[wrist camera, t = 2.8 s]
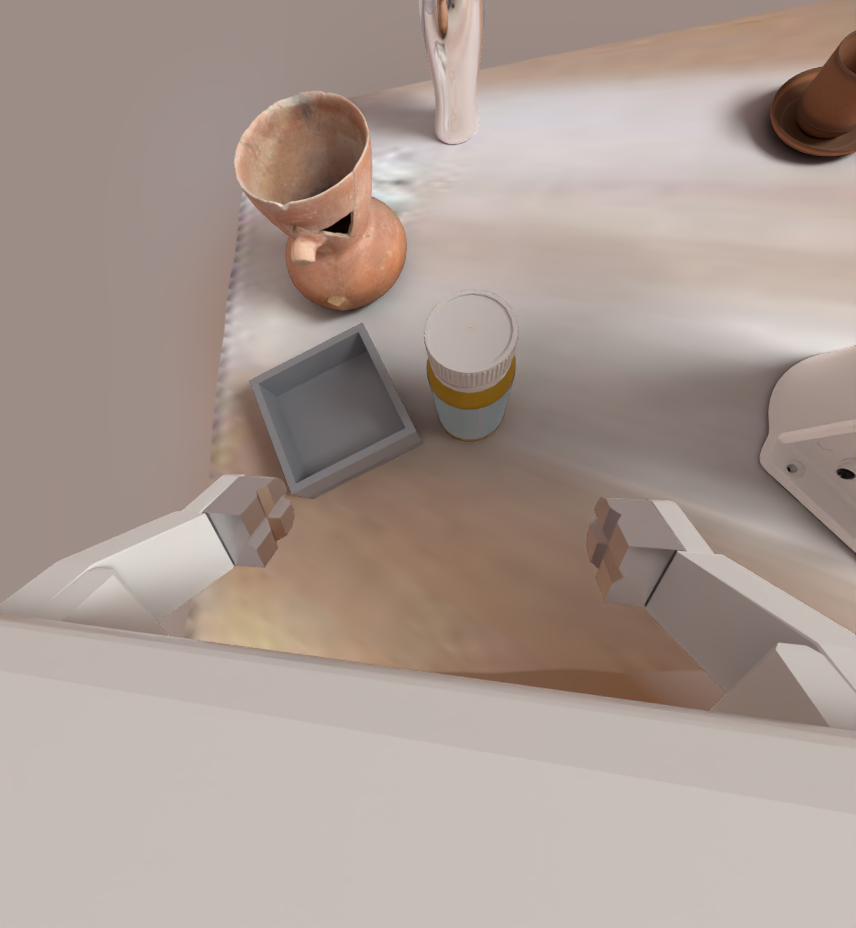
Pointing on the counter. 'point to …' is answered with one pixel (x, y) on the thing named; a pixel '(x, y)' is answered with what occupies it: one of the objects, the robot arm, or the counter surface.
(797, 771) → the robot arm
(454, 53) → the beer glass
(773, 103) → the cup and saucer
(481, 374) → the bottle
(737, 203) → the counter surface
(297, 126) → the ceramic jug
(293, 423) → the box
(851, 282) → the counter surface
